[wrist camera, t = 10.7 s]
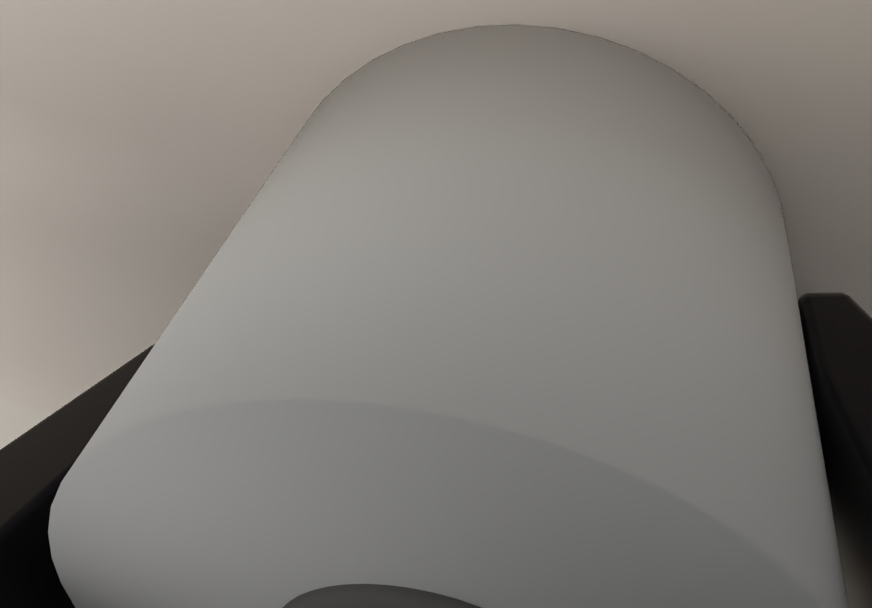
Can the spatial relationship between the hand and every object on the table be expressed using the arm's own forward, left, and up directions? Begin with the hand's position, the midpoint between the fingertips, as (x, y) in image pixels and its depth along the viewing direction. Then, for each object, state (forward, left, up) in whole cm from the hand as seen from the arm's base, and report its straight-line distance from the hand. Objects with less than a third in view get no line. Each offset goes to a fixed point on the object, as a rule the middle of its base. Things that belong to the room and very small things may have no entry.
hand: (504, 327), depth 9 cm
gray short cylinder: (0, 0, -1) cm, 1 cm away
